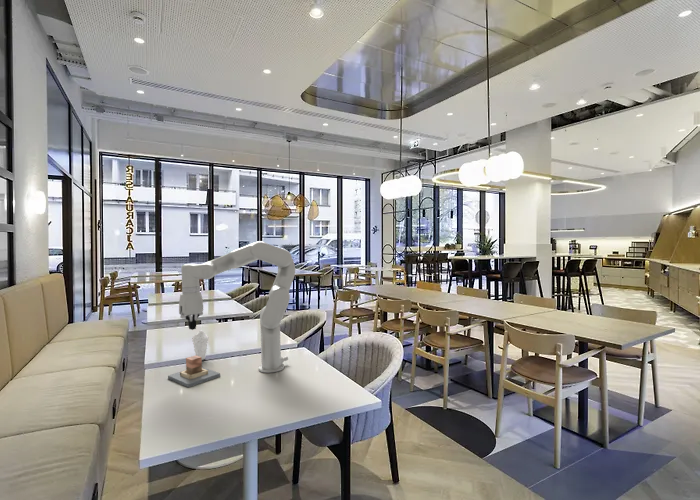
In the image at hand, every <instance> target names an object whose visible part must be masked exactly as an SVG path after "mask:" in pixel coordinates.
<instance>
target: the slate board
mask: <svg viewBox="0 0 700 500" xmlns="http://www.w3.org/2000/svg"><path fill="white" fill-rule="evenodd" d="M167 377H168V378H167V379H168V380H170V381H172V382H175V383H177V384H179V385H182V386H184V387H186V388H191V387H193V386H197V385H200V384H202V383H205V382H208V381H211V380H213V379H217V378H220V377H221V373H220V372H217V371H215V370H212V369H209V368H207V367H203V366H202V372H199V373H196V374H193V375H190V374H187V373H186V369H185V370H182V371H177V372H175V373H172V374H169V375H167Z"/></svg>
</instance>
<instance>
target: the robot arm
mask: <svg viewBox="0 0 700 500" xmlns="http://www.w3.org/2000/svg"><path fill="white" fill-rule="evenodd" d="M258 260H260V261H262V262H265V263H267V264H270V265H274V266H276V267H277V273H276V276H275V279H274V281H273V284H272V286H271V287H270V290H269V292H268V299H267V302H266V305H264V307H262V309H261V310H260V313H259V325H260V355H261V359H260V360H261V364H260V365H259V366H258V369H257V370H258V371H259V372H261V373H266V374H267V373H269V374H271V373H277V372H280V371H282V370H284V369H285V364H284V362H286V361H288V360H289V357H288V356H283V357H282V351H281V350H282V349H281V347H282V345H281V322H282V320H283V317H284V316H285V313H286V310H287V308H288V305H289V303H290V299H291V296H290V295H291V294H290V292H289V291H291V286H292V285H293V281H294V279H295V275H296V267H295V266H296V265H295V261H294V259H293V256H292V254H291V253H290V251H288V250H286V249H284V248H281V247H278V246H275V245H272V244H270V243H267V242H265V241H262V240H258V241H255V242H252V243H249V244H247V245H245V246H242V247H239V248H237V249H234V250H232V251H229V252H228V253H226V254H224V255H221V256H219V257H216V258H214V259H212V260H208V261H206V262H204V263H200V264H197V263H185V264H183V265H182V266H181V268H180V269H181V271H180V272H181V292H182V293H181V294H179V299H178V300H179V301H178V314H179V315H180V319H185V320H186V321H187V324H188V329H189V330H192V331H193V330H197V320H198V319H199V317H200V316H202V315H203V314H204V301H203V296H202V292H201V290H202V289H203V287H202V286H200V280H210V279H212V278H214V277H215V276H217V275H218V274H221V273H224V272H226V271H229V270H232V269H238V268H242V267H244V266H246V265H249V264H251V263H254V262H256V261H258Z"/></svg>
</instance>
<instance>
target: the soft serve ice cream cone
mask: <svg viewBox="0 0 700 500" xmlns="http://www.w3.org/2000/svg"><path fill="white" fill-rule="evenodd" d="M191 340H192V344H193V351H194V355H196V356H199V357H202V361H203V360H205V359H206V354H207V350H208V341H209V336H208V335H207V334H206V333H205V331H204V330H203V329H200V330H199V331H198V332H197V333H196V334H194V335H193V336H192V339H191Z"/></svg>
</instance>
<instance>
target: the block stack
mask: <svg viewBox="0 0 700 500" xmlns="http://www.w3.org/2000/svg"><path fill="white" fill-rule="evenodd" d="M202 361H203V360H202V357H199V356H196V354H194V355H191V356H189V357H185V368H186V369H185V370H186V373H187V374H190V375H193V374H196V373H199V372H202V367H203V366H202V365H203V364H202V363H203V362H202Z"/></svg>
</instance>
